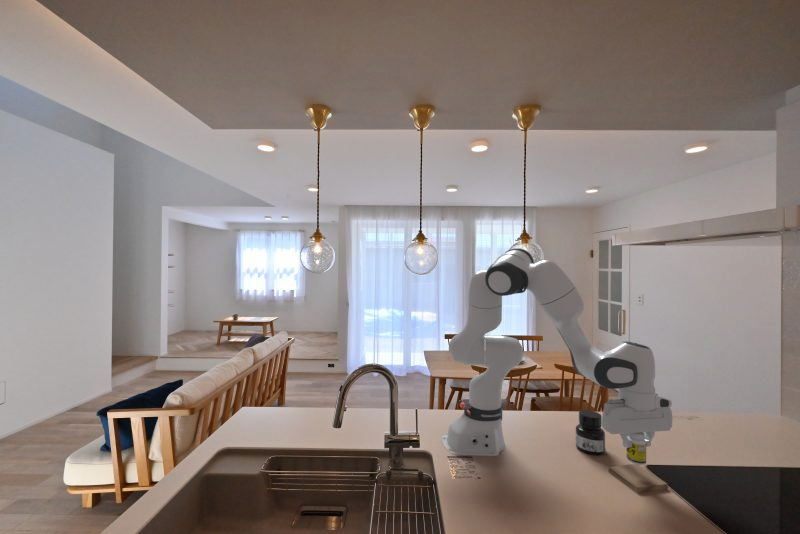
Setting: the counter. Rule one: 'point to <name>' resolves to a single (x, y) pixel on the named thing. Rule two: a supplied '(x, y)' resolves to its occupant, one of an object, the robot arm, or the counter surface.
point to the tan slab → (638, 478)
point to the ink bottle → (590, 433)
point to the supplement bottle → (637, 448)
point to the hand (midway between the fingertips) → (636, 446)
